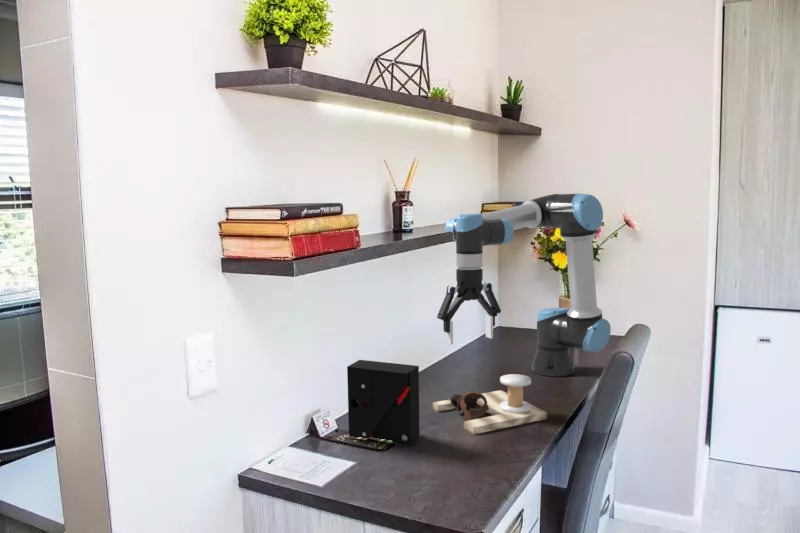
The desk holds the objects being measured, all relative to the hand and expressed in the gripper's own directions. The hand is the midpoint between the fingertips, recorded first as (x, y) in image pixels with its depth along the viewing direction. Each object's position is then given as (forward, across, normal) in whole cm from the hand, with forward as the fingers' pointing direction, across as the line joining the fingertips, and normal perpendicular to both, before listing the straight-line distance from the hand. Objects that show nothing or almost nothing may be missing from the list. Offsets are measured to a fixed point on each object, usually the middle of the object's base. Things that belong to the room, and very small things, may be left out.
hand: (469, 340), depth 183 cm
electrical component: (+23, +29, +3) cm, 37 cm away
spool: (+21, -12, +6) cm, 25 cm away
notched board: (+23, -5, +1) cm, 23 cm away
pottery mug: (+23, 0, 0) cm, 23 cm away
